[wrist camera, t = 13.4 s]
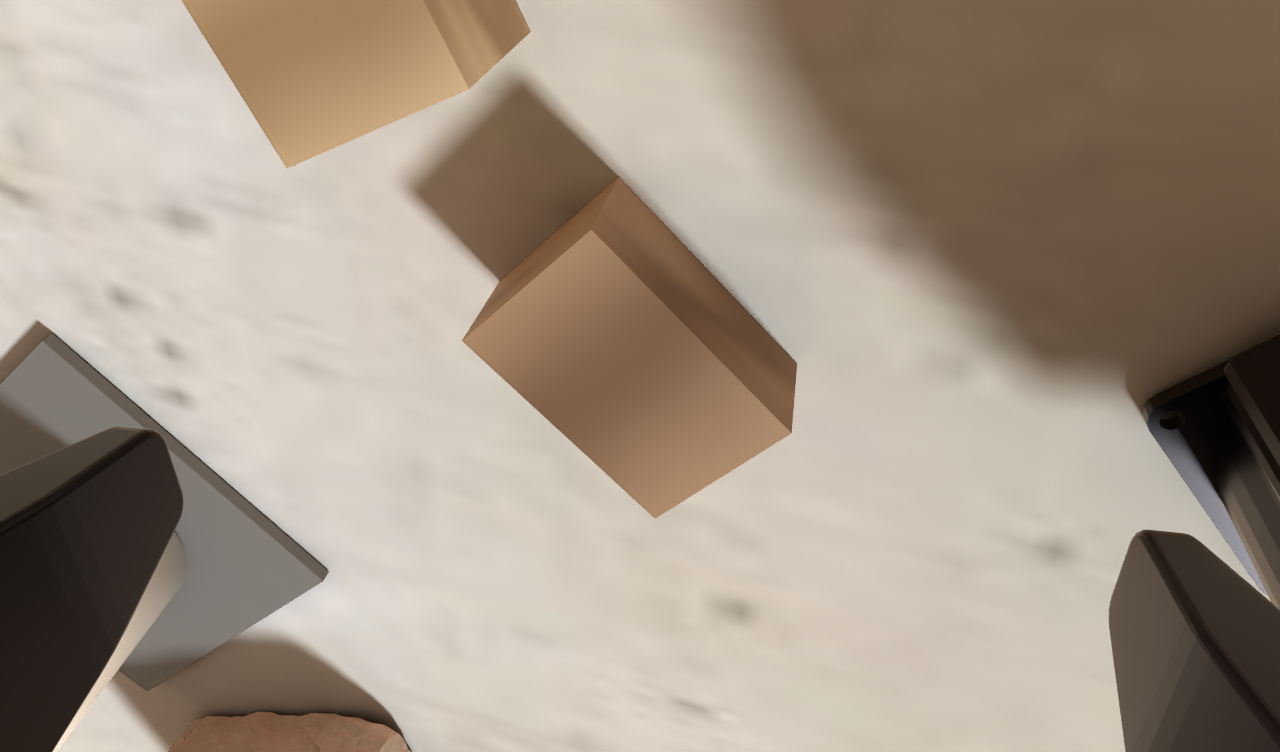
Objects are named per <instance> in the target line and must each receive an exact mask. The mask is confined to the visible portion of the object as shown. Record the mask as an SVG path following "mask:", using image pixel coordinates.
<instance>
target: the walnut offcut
mask: <svg viewBox="0 0 1280 752" xmlns="http://www.w3.org/2000/svg"><path fill="white" fill-rule="evenodd" d="M462 341H463V342H464V343H465V344H466V345H467V346H468V347H469V348H470V349H472V350H473V351H474V352H475V353H476V354H477V355H478V356H479V357H480V358H481V359H482V360H483V361H485V362H486V363H487V364H488V365H489V366H490V367H491V368H492V369H493V370H494V371H495V372H497V373H498V374H499V375H500V376H501V377H502V378H503V379H504V380H505V381H506V382H507V383H508V384H510V385H511V386H512V387H513V388H514V389H515V390H516V391H517V392H518V393H519V394H520V395H521V396H523V397H524V398H525V399H526V400H527V401H528V402H529V403H530V404H531V405H532V406H533V407H535V408H536V409H537V410H538V411H539V412H540V413H541V414H542V415H543V416H544V417H545V418H546V419H548V420H549V421H550V422H551V423H552V424H553V425H554V426H555V427H556V428H557V429H558V430H559V431H561V432H562V433H563V434H564V435H565V436H566V437H567V438H568V439H569V440H570V441H571V442H573V443H574V444H575V445H576V446H577V447H578V448H579V449H580V450H581V451H582V452H583V453H584V454H586V455H587V456H588V457H589V458H590V459H591V460H592V461H593V462H594V463H595V464H596V465H598V466H599V467H600V468H601V469H602V470H603V471H604V472H605V473H606V474H607V475H608V476H609V477H611V478H612V479H613V480H614V481H615V482H616V483H617V484H618V485H619V486H620V487H621V488H622V489H624V490H625V491H626V492H627V493H628V494H629V495H630V496H631V497H632V498H633V499H634V500H636V501H637V502H638V503H639V504H640V505H641V506H642V507H643V508H644V509H645V510H646V511H647V512H649V513H650V514H651V515H652V516H653V517H654V518H657V517H658V516H660V515H661V514H663V513H665V512H666V511H668V510H669V509H671V508H673V507H674V506H676V505H677V504H679V503H681V502H682V501H684V500H685V499H687V498H689V497H690V496H692V495H693V494H695V493H697V492H698V491H700V490H701V489H703V488H705V487H706V486H708V485H709V484H711V483H713V482H714V481H716V480H717V479H719V478H721V477H722V476H724V475H725V474H727V473H729V472H730V471H732V470H733V469H735V468H737V467H738V466H740V465H741V464H743V463H745V462H746V461H748V460H749V459H751V458H753V457H754V456H756V455H757V454H759V453H761V452H762V451H764V450H765V449H767V448H769V447H770V446H772V445H773V444H775V443H777V442H778V441H780V440H781V439H783V438H784V437H786V436H788V435H789V434H791V432H792V420H793V408H794V395H795V383H796V371H797V363H796V362H795V361H794V360H793V359H792V358H791V357H790V356H789V354H788V353H787V352H786V351H785V350H784V349H783V348H782V347H781V346H780V345H779V344H778V343H777V342H776V341H775V340H774V339H773V338H772V337H771V336H770V335H769V334H768V332H767V331H766V330H765V329H764V328H763V327H762V326H761V325H760V324H759V323H758V322H757V321H756V320H755V319H754V318H753V317H752V316H751V315H750V314H749V313H748V311H747V310H746V309H745V308H744V307H743V306H742V305H741V304H740V303H739V302H738V301H737V300H736V299H735V298H734V297H733V296H732V295H731V294H730V293H729V292H728V290H727V289H726V288H725V287H724V286H723V285H722V284H721V283H720V282H719V281H718V280H717V279H716V278H715V277H714V276H713V275H712V274H711V273H710V272H709V271H708V269H707V268H706V267H705V266H704V265H703V264H702V263H701V262H700V261H699V260H698V259H697V258H696V257H695V256H694V255H693V254H692V253H691V252H690V251H689V250H688V248H687V247H686V246H685V245H684V244H683V243H682V242H681V241H680V240H679V239H678V238H677V237H676V236H675V235H674V234H673V233H672V232H671V231H670V230H669V229H668V227H667V226H666V225H665V224H664V223H663V222H662V221H661V220H660V219H659V218H658V217H657V216H656V215H655V214H654V213H653V212H652V211H651V210H650V209H649V208H648V206H647V205H646V204H645V203H644V202H643V201H642V200H641V199H640V198H639V197H638V196H637V195H636V194H635V193H634V192H633V191H632V190H631V189H630V188H629V187H628V185H627V184H626V183H625V182H624V181H623V180H622V179H621V178H620V177H618V178H616V179H615V180H614V181H613V182H612V183H611V184H610V185H608V186H607V187H606V188H605V189H604V190H603V191H602V192H601V193H599V194H598V195H597V196H596V197H595V198H594V199H593V200H591V201H590V202H589V203H588V204H587V205H586V206H585V207H583V208H582V209H581V210H580V211H579V212H578V213H577V214H576V215H574V216H573V217H572V218H571V219H570V220H569V221H568V222H566V223H565V224H564V225H563V226H562V227H561V228H560V229H558V230H557V231H556V232H555V233H554V234H553V235H552V236H551V237H549V238H548V239H547V240H546V241H545V242H544V243H543V244H541V245H540V246H539V247H538V248H537V249H536V250H535V251H534V252H532V253H531V254H530V255H529V256H528V257H527V258H526V259H524V260H523V261H522V262H521V263H520V264H519V265H518V266H516V267H515V268H514V269H513V270H512V271H511V272H510V273H509V274H507V275H506V276H505V277H504V278H503V279H502V280H501V281H500V282H499V283H498V285H497V287H496V288H495V290H494V291H493V293H492V294H491V296H490V298H489V299H488V301H487V302H486V304H485V305H484V307H483V309H482V310H481V312H480V313H479V315H478V316H477V318H476V320H475V321H474V323H473V324H472V326H471V327H470V329H469V331H468V332H467V334H466V335H465V337H464V338H463V340H462Z"/></svg>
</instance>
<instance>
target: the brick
mask: <svg viewBox="0 0 1280 752" xmlns="http://www.w3.org/2000/svg"><path fill="white" fill-rule="evenodd" d="M169 752H411V751H410V750H409V749H408V748H407V745H406V743H405V741H404V739H403V738H402V737H401V735H400V734H398V733H397V732H395V731H394V730H392V729H390V728H389V727H387V726H385V725H383V724H376V723H371V722H368V721H366V720H363V719H361V718H356V717H344V716H340V715H338V714H321V713H310V714H306V715H302V716H295V715H277V714H275V713H273V712H259V711H258V712H255V713H252V714H249V715H246V716H244V717H240V716H233V717H227V716H218V717H217V716H206V717H204V718H202V719H195V720H194V721H193V722H192V724H191V725H190V727H189V728H188V729H187V731H186V732H185V733H184V734H183V735H182V736H181V737H179V738H178V739H177V741H176V742H175V744H174V745H173V746H172V748H171V749H170V750H169Z"/></svg>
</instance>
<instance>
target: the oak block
mask: <svg viewBox="0 0 1280 752" xmlns="http://www.w3.org/2000/svg"><path fill="white" fill-rule="evenodd" d="M182 2H183V4H184V5H185V7H186V8H187V10H188V12H189V13H190V15H191V16H192V18H193V19H194V21H195V23H196V24H197V26H198V27H199V29H200V31H201V32H202V34H203V35H204V37H205V39H206V40H207V42H208V43H209V45H210V47H211V48H212V50H213V51H214V53H215V55H216V56H217V58H218V59H219V61H220V63H221V64H222V66H223V67H224V69H225V71H226V72H227V74H228V75H229V77H230V79H231V80H232V82H233V83H234V85H235V87H236V88H237V90H238V91H239V93H240V95H241V96H242V98H243V99H244V101H245V103H246V104H247V106H248V107H249V109H250V111H251V112H252V114H253V115H254V117H255V118H256V120H257V122H258V123H259V125H260V126H261V128H262V130H263V131H264V133H265V134H266V136H267V138H268V139H269V141H270V142H271V144H272V146H273V147H274V149H275V150H276V152H277V154H278V155H279V157H280V158H281V160H282V162H283V163H284V165H285V166H286V168H289V167H291V166H293V165H296V164H298V163H300V162H303V161H305V160H307V159H310V158H312V157H314V156H316V155H319V154H321V153H323V152H326V151H328V150H330V149H332V148H335V147H337V146H339V145H342V144H344V143H346V142H349V141H351V140H353V139H355V138H358V137H360V136H362V135H365V134H367V133H369V132H371V131H374V130H376V129H378V128H381V127H383V126H385V125H388V124H390V123H392V122H394V121H397V120H399V119H401V118H404V117H406V116H408V115H411V114H413V113H415V112H417V111H420V110H422V109H424V108H427V107H429V106H431V105H433V104H436V103H438V102H440V101H443V100H445V99H447V98H450V97H452V96H454V95H456V94H459V93H461V92H463V91H466V90H468V89H470V88H471V87H472V86H473V85H474V84H475V83H476V82H477V81H478V80H479V79H480V78H481V77H482V76H484V75H485V74H486V73H487V72H488V71H489V70H490V69H491V68H492V67H493V66H494V65H495V64H496V63H498V62H499V61H500V60H501V59H502V58H503V57H504V56H505V55H506V54H507V53H508V52H509V51H510V50H512V49H513V48H514V47H515V46H516V45H517V44H518V43H519V42H520V41H521V40H522V39H523V38H524V37H525V36H527V35H528V34H529V33H530V32H531V31H530V29H529V27H528V25H527V23H526V21H525V19H524V17H523V14H522V12H521V10H520V8H519V6H518V4H517V2H516V0H182Z"/></svg>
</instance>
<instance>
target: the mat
mask: <svg viewBox="0 0 1280 752" xmlns="http://www.w3.org/2000/svg"><path fill="white" fill-rule="evenodd" d="M116 426H128V427H137V428H147V429H153V430H155V431H157V432H159V433H160V434H161V436H162V437H163V438H164V440H165V442H166V444H167V447H168V450H169V453H170V456H171V459H172V462H173V465H174V468H175V471H176V474H177V477H178V480H179V483H180V486H181V489H182V492H183V500H184V504H183V511H182V515H181V518H180V521H179V523H178V525H177V527H176V529H175V531H174V532H175V533H176V534H177V536H178V538H179V540H180V541H181V543H182V545H183V548H184V551H185V554H186V558H187V575H186V578H185V580H184V582H183V584H182V585H181V587H180V588H179V589H178V591H177V592H176V593H175V595H174V596H173V597H172V599H171V600H170V601H169V603H168V604H167V605H166V607H165V608H164V609H163V611H162V612H161V613H160V615H159V616H158V617H157V619H156V620H155V621H154V623H153V624H152V625H151V627H150V628H149V629H148V631H147V632H146V633H145V635H144V636H143V637H142V639H141V640H140V641H139V643H138V644H137V645H136V647H135V648H134V649H133V651H132V652H131V653H130V655H129V656H128V657H127V659H126V660H125V661H124V663H123V664H122V665H121V667H120V668H119V669H118V670H119V671H121V672H122V673H123V674H125V675H126V676H127V677H129V678H130V679H131V680H133V681H134V682H135V683H137V684H138V685H139V686H141V687H142V688H143V689H145V690H146V691H148V690H150V689H152V688H153V687H155V686H156V685H158V684H160V683H161V682H163V681H164V680H166V679H168V678H169V677H171V676H172V675H174V674H176V673H177V672H179V671H180V670H182V669H184V668H185V667H187V666H188V665H190V664H192V663H193V662H195V661H196V660H198V659H200V658H201V657H203V656H204V655H206V654H207V653H209V652H211V651H212V650H214V649H215V648H217V647H219V646H220V645H222V644H223V643H225V642H227V641H228V640H230V639H231V638H233V637H235V636H236V635H238V634H239V633H241V632H243V631H244V630H246V629H247V628H249V627H251V626H252V625H254V624H255V623H257V622H259V621H260V620H262V619H263V618H265V617H267V616H268V615H270V614H271V613H273V612H275V611H276V610H278V609H279V608H281V607H282V606H284V605H286V604H287V603H289V602H290V601H292V600H294V599H295V598H297V597H298V596H300V595H302V594H303V593H305V592H306V591H308V590H310V589H311V588H313V587H314V586H316V585H318V584H319V583H321V582H322V581H323V580H324V579H325V577H326V576H327V574H328V572H329V571H328V570H326V569H325V568H324V567H323V566H322V565H321V564H319V563H318V562H317V561H316V560H315V559H314V558H313V557H311V556H310V555H309V554H308V553H307V552H306V551H304V550H303V549H302V548H301V547H300V546H299V545H297V544H296V543H295V542H294V541H293V540H292V539H290V538H289V537H288V536H287V535H286V534H285V533H284V532H282V531H281V530H280V529H279V528H278V527H277V526H275V525H274V524H273V523H272V522H271V521H270V520H268V519H267V518H266V517H265V516H264V515H263V514H261V513H260V512H259V511H258V510H257V509H256V508H254V507H253V506H252V505H251V504H250V503H249V502H248V501H246V500H245V499H244V498H243V497H242V496H241V495H239V494H238V493H237V492H236V491H235V490H234V489H232V488H231V487H230V486H229V485H228V484H227V483H225V482H224V481H223V480H222V479H221V478H220V477H219V476H217V475H216V474H215V473H214V472H213V471H212V470H210V469H209V468H208V467H207V466H206V465H205V464H203V463H202V462H201V461H200V460H199V459H198V458H196V457H195V456H194V455H193V454H192V453H191V452H190V451H188V450H187V449H186V448H185V447H184V446H183V445H181V444H180V443H179V442H178V441H177V440H176V439H174V438H173V437H172V436H171V435H170V434H169V433H167V432H166V431H165V430H164V429H163V428H162V427H160V426H159V425H158V424H157V423H156V422H155V421H154V420H152V419H151V418H150V417H149V416H148V415H147V414H145V413H144V412H143V411H142V410H141V409H140V408H138V407H137V406H136V405H135V404H134V403H133V402H131V401H130V400H129V399H128V398H127V397H126V396H125V395H123V394H122V393H121V392H120V391H119V390H118V389H116V388H115V387H114V386H113V385H112V384H111V383H109V382H108V381H107V380H106V379H105V378H104V377H102V376H101V375H100V374H99V373H98V372H97V371H96V370H94V369H93V368H92V367H91V366H90V365H89V364H87V363H86V362H85V361H84V360H83V359H82V358H80V357H79V356H78V355H77V354H76V353H75V352H73V351H72V350H71V349H70V348H69V347H68V346H66V345H65V344H64V343H63V342H62V341H61V340H60V339H58V338H57V337H56V336H55V335H54V334H53V333H52V334H51V335H49V336H48V337H47V338H45V339H44V340H43V341H42V342H41V343H40V344H39V345H38V346H37V347H36V348H35V349H34V350H33V351H32V352H31V353H30V354H29V355H28V356H27V357H26V358H25V359H24V360H23V361H22V362H21V363H20V364H19V366H18V367H17V368H16V369H15V370H14V371H13V372H12V373H11V374H10V375H9V376H8V377H7V378H6V379H5V380H4V381H3V382H2V383H1V384H0V475H2V474H4V473H6V472H9V471H11V470H13V469H16V468H18V467H20V466H23V465H25V464H27V463H30V462H32V461H34V460H37V459H39V458H41V457H43V456H46V455H48V454H50V453H53V452H55V451H57V450H60V449H62V448H64V447H67V446H69V445H71V444H74V443H76V442H78V441H81V440H83V439H85V438H88V437H90V436H92V435H95V434H97V433H99V432H102V431H104V430H106V429H109V428H112V427H116Z"/></svg>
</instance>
